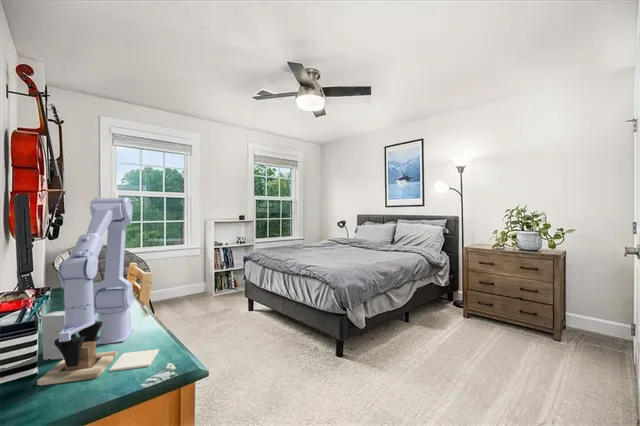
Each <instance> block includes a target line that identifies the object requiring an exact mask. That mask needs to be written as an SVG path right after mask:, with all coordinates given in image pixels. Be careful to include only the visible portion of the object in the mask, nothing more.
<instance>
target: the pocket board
mask: <svg viewBox="0 0 640 426" xmlns="http://www.w3.org/2000/svg"><path fill="white" fill-rule="evenodd" d="M118 355H119V354H118V350H114V351H103V352H102V351H101V352H96V364H95V365H94V366H93V367H92V368H88V369H80V370H72V371H65V360H64V359H61V361H60V362H58V363H56V365H55V366H53V367H52V368H51V369H49V370H48V371H47V372H46V373H45V374H44V375H42V376H41V377H40V378H39V379H38V380H37V381H36V383H37V386H38V385H40V386H44V385H46V386H47V385H54V384H62V383H67V382H74V381H75V382H77V381H82V380H84V381H85V380H90V379H91V380H93V379H97V378H99V377H100V375H102V373H103V372H104V371H105V370H106V369H107V368H108V367H109V365H110V364H112V362H113V361H114V360H115V359H116V358H117V357H118Z"/></svg>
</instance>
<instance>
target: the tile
mask: <svg viewBox="0 0 640 426" xmlns="http://www.w3.org/2000/svg"><path fill="white" fill-rule="evenodd" d="M159 352H160V349H159V348H157V349H149V350H142V351H141V350H139V351H138V350H137V351H132V352H131V351H129V352H124V353H121V355H120V356H119V357H118V358H117V360H116V361H115V362H114V363H113V364H112V366H111V367H110V368H108V372H109V373H110V372H114V371H115V372H118V371H124V370H131V369H133V370H134V369H137V368H139V369H140V368H145V367H146V368H148V367H150V366H151V364H152V363H153V361H154V359H155V358H156V357H157V355H158V353H159Z"/></svg>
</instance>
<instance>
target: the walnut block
mask: <svg viewBox="0 0 640 426" xmlns="http://www.w3.org/2000/svg"><path fill="white" fill-rule="evenodd" d="M96 341H97V340H96ZM96 341H92V342H83V344H82V347H81V352H80V361H79V364H78V366H74V367H67V365H66V363H65V371H72V370H80V369H88V368H92V367H93V366H94V365H95V364H96V363H97V362H96V353H97V345H96Z"/></svg>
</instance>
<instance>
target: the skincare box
mask: <svg viewBox="0 0 640 426" xmlns="http://www.w3.org/2000/svg"><path fill="white" fill-rule="evenodd" d="M41 323H42V324H41V326H42V330H41V332H42V358H43V360H44V361H46V360H48V359H50V360H51V361H52V360H63V359H64V357H63V355H62V353H61V352H60V350H59V349H58V348H57V347H56V346H55V344H54V341H55V340H56V339H58V338H59V333H61V332H62V329H63V328H60V325H61V324H63V323H65V310H57V311H52V312H49V313H46V314H44V315H42V316H41ZM48 361H49V360H48Z"/></svg>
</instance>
